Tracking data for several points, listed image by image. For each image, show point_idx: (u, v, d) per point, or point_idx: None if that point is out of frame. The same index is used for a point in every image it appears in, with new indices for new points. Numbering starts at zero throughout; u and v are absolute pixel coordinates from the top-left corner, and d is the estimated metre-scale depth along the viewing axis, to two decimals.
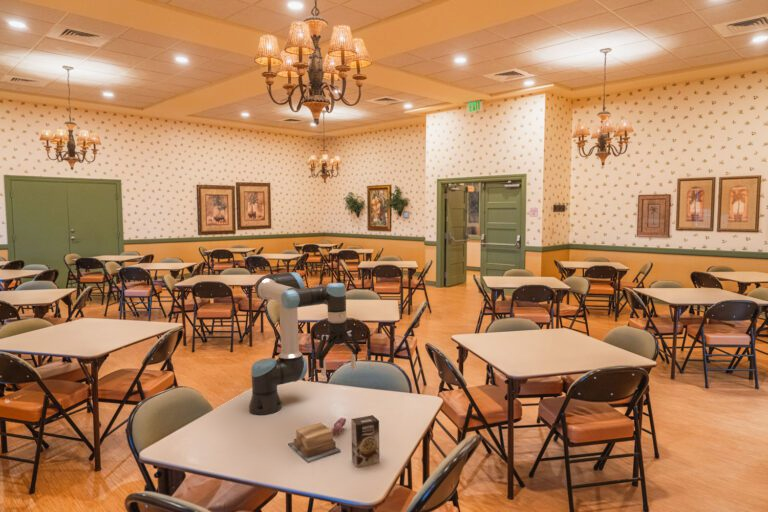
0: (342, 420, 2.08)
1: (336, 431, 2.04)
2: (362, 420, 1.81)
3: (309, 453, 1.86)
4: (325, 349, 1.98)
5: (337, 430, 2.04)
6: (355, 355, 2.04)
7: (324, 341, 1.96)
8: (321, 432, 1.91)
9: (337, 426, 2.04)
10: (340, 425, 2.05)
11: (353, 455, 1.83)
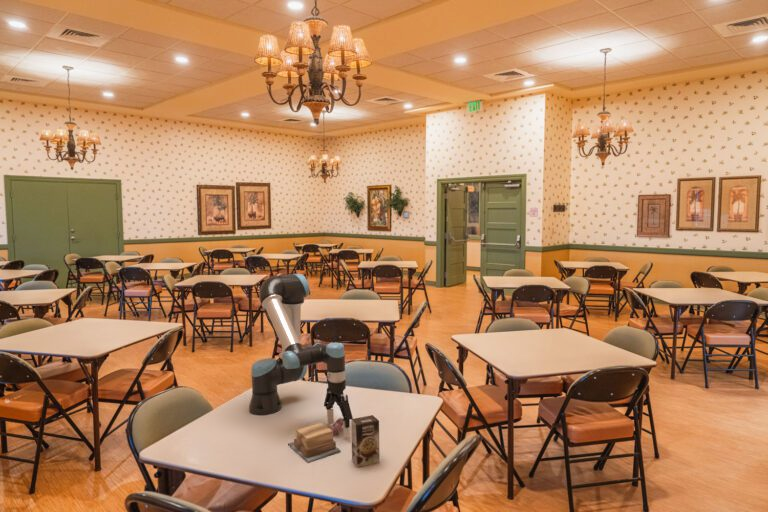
0: (341, 420, 2.08)
1: (335, 431, 2.04)
2: (362, 420, 1.81)
3: (309, 453, 1.86)
4: None
5: (336, 430, 2.04)
6: (345, 421, 2.02)
7: (327, 393, 2.12)
8: (321, 432, 1.91)
9: (336, 426, 2.04)
10: (339, 425, 2.05)
11: (353, 455, 1.83)
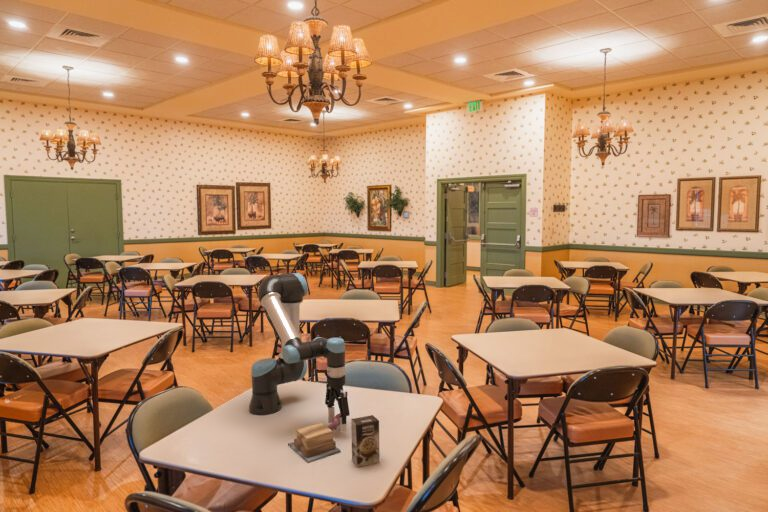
0: (340, 415, 2.07)
1: (334, 426, 2.03)
2: (362, 420, 1.81)
3: (309, 453, 1.86)
4: None
5: (335, 425, 2.03)
6: (342, 418, 2.04)
7: (327, 389, 2.12)
8: (321, 432, 1.91)
9: (335, 421, 2.04)
10: (338, 420, 2.04)
11: (353, 455, 1.83)
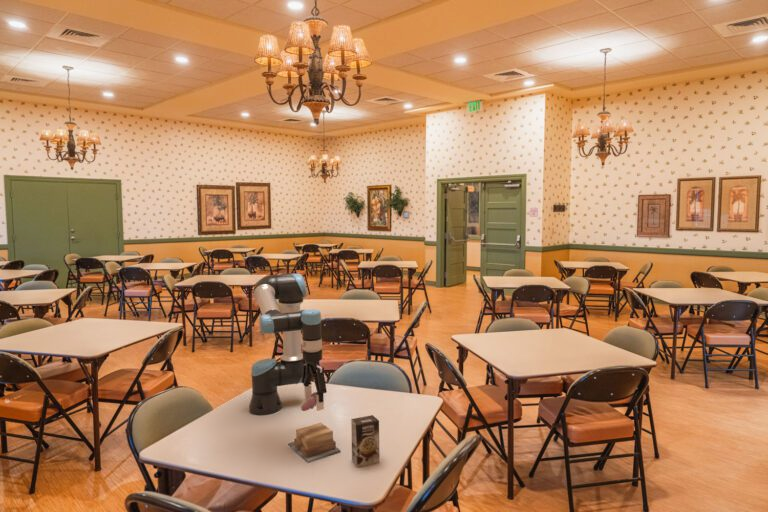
0: None
1: (310, 405, 1.87)
2: (362, 420, 1.81)
3: (309, 453, 1.86)
4: None
5: (311, 404, 1.87)
6: (319, 395, 1.87)
7: (303, 366, 1.96)
8: (321, 432, 1.91)
9: (311, 399, 1.87)
10: (314, 399, 1.88)
11: (353, 455, 1.83)
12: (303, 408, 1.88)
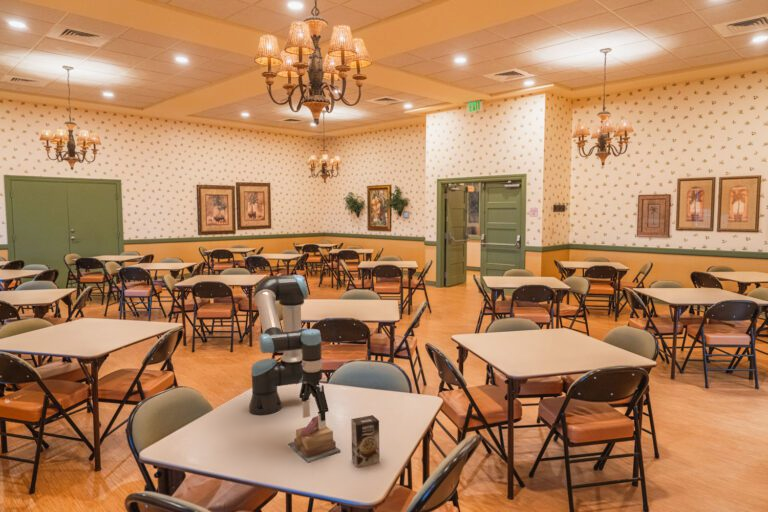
0: (317, 418, 1.91)
1: (309, 430, 1.87)
2: (362, 420, 1.81)
3: (309, 453, 1.86)
4: None
5: (310, 429, 1.87)
6: (321, 414, 1.86)
7: (302, 383, 1.96)
8: (321, 432, 1.91)
9: (310, 424, 1.88)
10: (314, 423, 1.88)
11: (353, 455, 1.83)
12: (303, 432, 1.88)
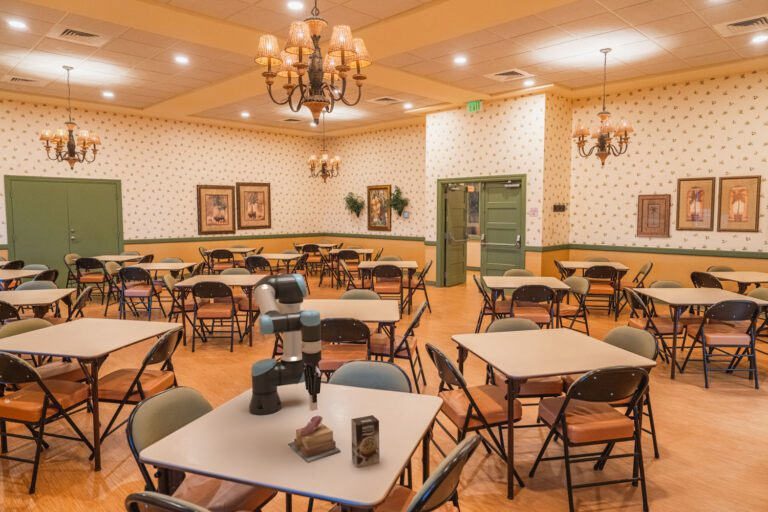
0: (316, 418, 1.91)
1: (308, 430, 1.88)
2: (362, 420, 1.81)
3: (309, 453, 1.86)
4: None
5: (309, 429, 1.87)
6: (312, 396, 1.91)
7: (304, 370, 1.95)
8: (321, 432, 1.91)
9: (309, 424, 1.88)
10: (313, 423, 1.88)
11: (353, 455, 1.83)
12: (302, 432, 1.89)
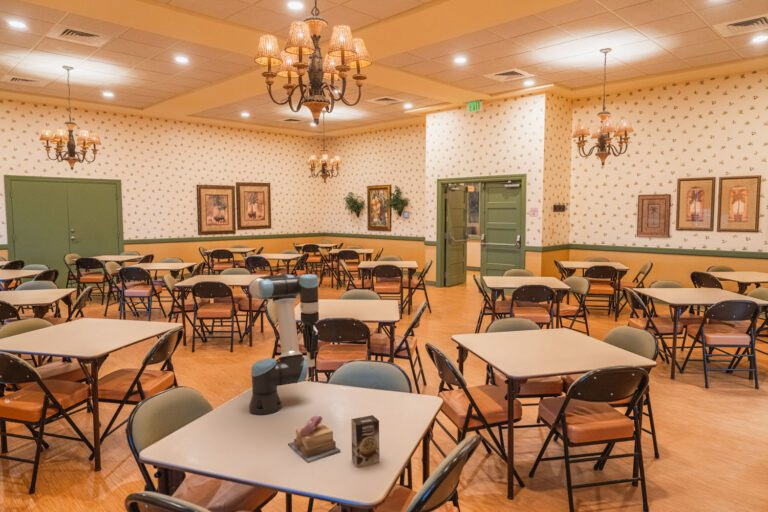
0: (316, 418, 1.91)
1: (308, 429, 1.88)
2: (362, 420, 1.81)
3: (309, 453, 1.86)
4: None
5: (309, 428, 1.88)
6: (310, 353, 2.06)
7: (302, 330, 2.10)
8: (321, 432, 1.91)
9: (309, 424, 1.88)
10: (313, 423, 1.88)
11: (353, 455, 1.83)
12: (302, 432, 1.89)
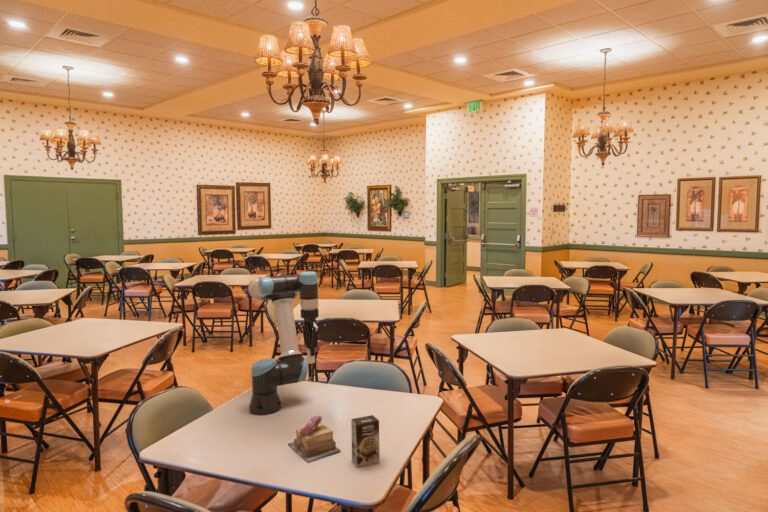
0: (316, 418, 1.91)
1: (308, 429, 1.88)
2: (362, 420, 1.81)
3: (309, 453, 1.86)
4: None
5: (309, 428, 1.88)
6: (310, 350, 2.08)
7: (302, 327, 2.12)
8: (321, 432, 1.91)
9: (309, 424, 1.88)
10: (312, 423, 1.88)
11: (353, 455, 1.83)
12: (301, 432, 1.89)
